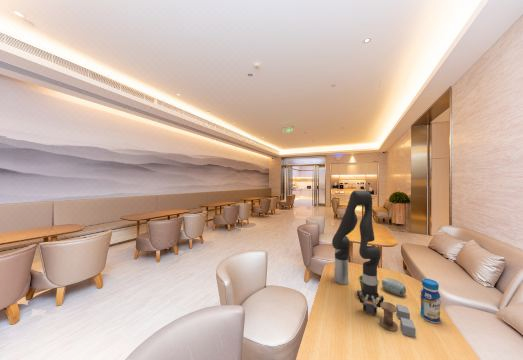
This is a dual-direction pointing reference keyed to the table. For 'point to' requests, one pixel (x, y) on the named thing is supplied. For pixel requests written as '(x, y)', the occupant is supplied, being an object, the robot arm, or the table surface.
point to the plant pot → (361, 282)
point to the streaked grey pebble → (394, 286)
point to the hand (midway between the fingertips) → (369, 311)
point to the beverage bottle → (430, 301)
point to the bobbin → (388, 316)
